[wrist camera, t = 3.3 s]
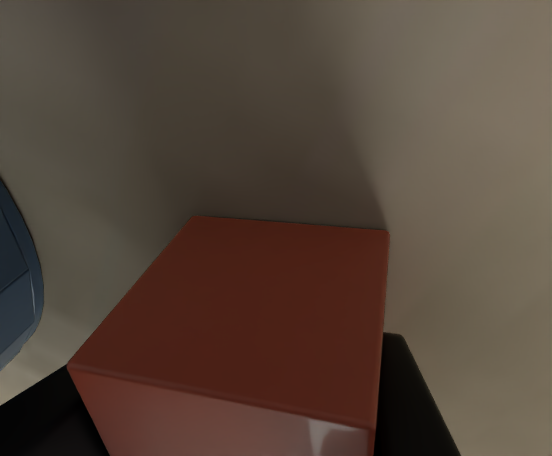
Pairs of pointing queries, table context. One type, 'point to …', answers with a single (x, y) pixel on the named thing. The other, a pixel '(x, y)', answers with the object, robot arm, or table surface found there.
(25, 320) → the tin
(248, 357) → the block
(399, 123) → the table surface
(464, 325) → the table surface
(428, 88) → the table surface
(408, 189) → the table surface
